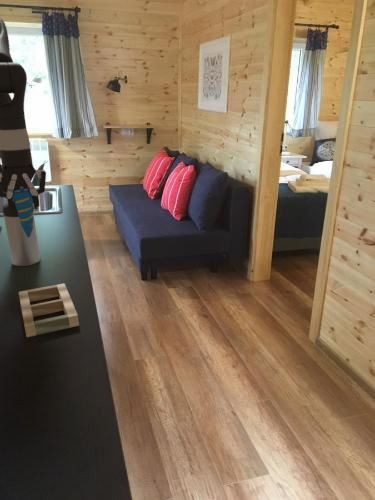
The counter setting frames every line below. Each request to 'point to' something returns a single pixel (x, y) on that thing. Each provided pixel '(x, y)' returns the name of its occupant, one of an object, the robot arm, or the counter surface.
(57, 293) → the wooden frame
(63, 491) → the counter surface
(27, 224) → the ornament
